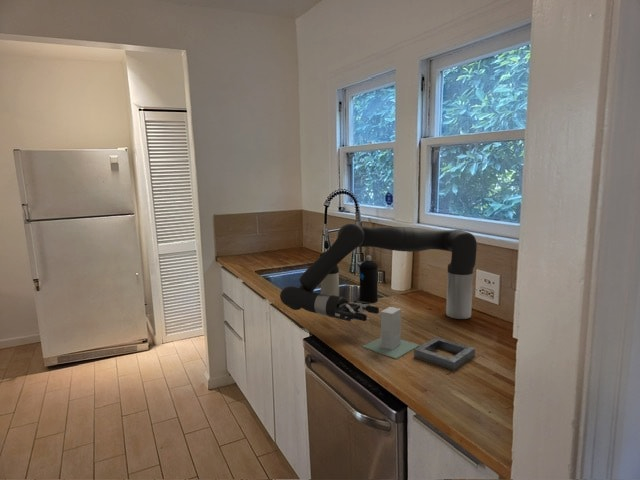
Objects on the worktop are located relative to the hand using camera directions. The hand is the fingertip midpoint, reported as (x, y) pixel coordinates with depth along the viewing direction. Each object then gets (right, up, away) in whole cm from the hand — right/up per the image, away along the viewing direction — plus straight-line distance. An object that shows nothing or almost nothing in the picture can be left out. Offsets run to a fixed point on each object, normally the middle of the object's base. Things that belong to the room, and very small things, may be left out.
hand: (372, 314), depth 134 cm
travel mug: (-13, -3, +47) cm, 49 cm away
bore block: (+21, -11, -9) cm, 25 cm away
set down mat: (+6, -10, -2) cm, 12 cm away
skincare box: (+6, -10, -2) cm, 12 cm away
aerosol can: (+4, -3, +47) cm, 48 cm away
